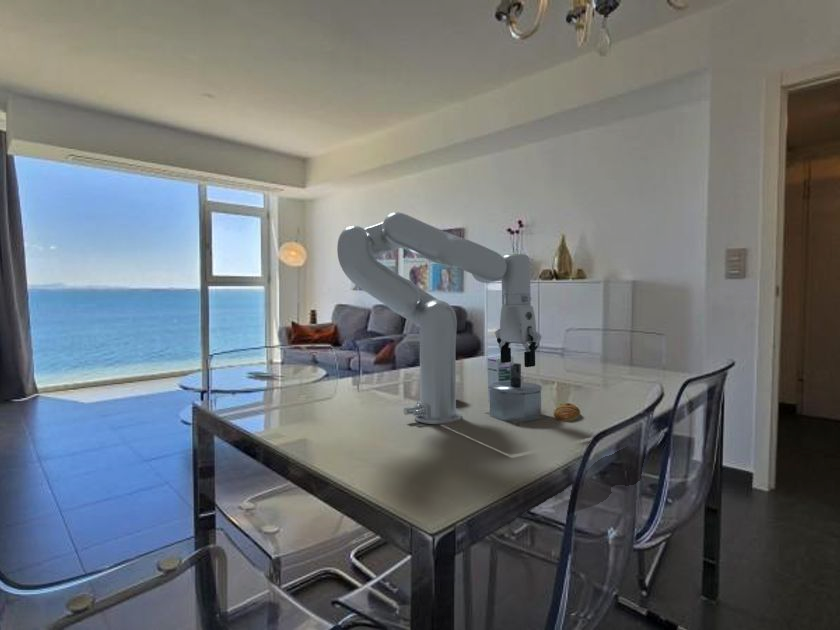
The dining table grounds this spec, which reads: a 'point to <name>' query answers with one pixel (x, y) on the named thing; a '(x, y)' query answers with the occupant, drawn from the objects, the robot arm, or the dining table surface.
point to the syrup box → (497, 371)
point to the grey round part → (515, 398)
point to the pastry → (567, 412)
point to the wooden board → (517, 421)
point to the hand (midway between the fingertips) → (517, 364)
